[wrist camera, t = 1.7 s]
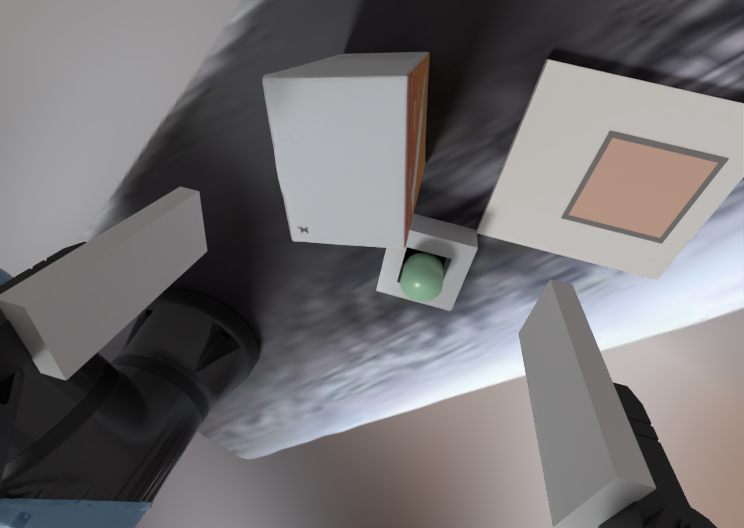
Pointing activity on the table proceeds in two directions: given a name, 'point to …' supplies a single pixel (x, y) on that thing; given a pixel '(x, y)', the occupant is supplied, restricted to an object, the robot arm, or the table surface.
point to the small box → (350, 145)
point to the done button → (422, 277)
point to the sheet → (615, 169)
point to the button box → (439, 241)
